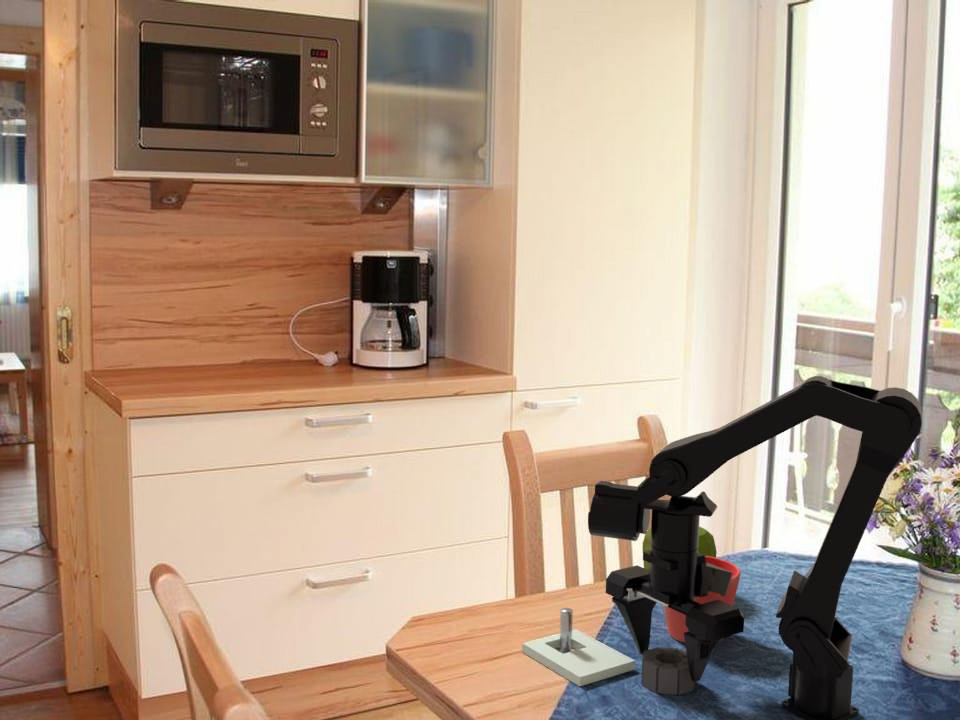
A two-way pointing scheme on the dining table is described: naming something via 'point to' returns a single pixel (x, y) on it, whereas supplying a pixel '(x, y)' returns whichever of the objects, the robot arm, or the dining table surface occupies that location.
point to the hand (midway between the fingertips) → (669, 667)
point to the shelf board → (579, 658)
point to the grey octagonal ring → (666, 671)
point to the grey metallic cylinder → (566, 630)
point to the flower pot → (703, 600)
